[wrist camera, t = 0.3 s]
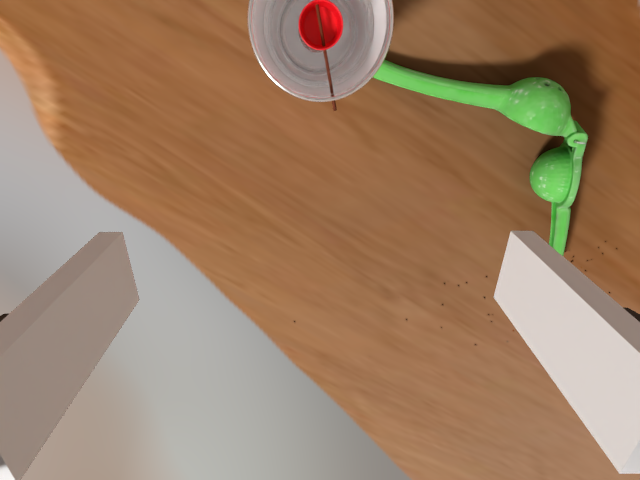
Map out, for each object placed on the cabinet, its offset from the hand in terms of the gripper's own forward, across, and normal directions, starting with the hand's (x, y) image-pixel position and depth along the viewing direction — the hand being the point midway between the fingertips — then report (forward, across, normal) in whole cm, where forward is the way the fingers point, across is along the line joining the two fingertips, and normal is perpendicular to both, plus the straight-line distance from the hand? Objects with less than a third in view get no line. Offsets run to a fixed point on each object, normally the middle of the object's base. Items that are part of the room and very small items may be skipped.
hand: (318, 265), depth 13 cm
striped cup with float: (+26, 0, +8) cm, 27 cm away
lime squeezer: (+26, +19, -4) cm, 33 cm away
